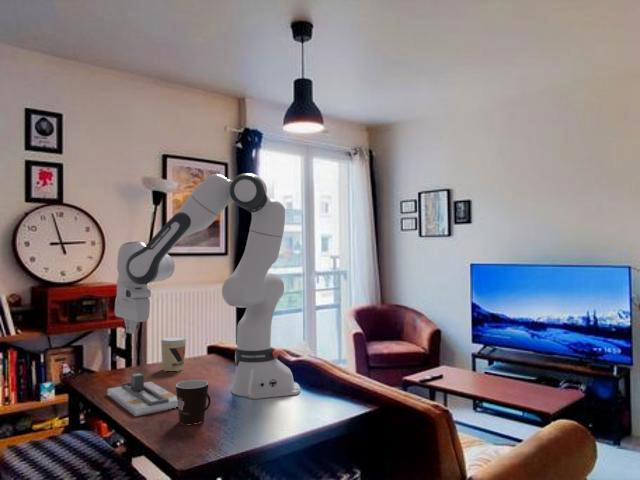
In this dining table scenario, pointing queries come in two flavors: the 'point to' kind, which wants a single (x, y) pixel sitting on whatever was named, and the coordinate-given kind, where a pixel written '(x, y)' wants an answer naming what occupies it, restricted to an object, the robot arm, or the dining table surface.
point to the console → (143, 398)
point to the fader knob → (137, 381)
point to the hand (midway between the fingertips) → (130, 332)
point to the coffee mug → (192, 400)
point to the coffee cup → (173, 353)
